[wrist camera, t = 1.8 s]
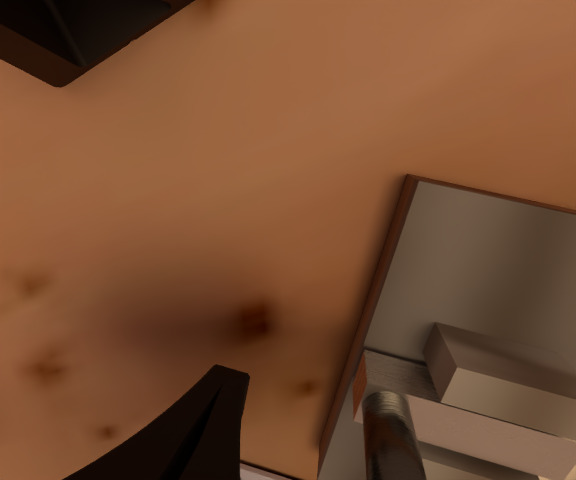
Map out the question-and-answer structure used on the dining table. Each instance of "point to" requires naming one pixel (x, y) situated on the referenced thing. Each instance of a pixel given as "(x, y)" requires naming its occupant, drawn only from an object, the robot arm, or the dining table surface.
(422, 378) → the bolt
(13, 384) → the dining table surface
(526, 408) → the door and jamb
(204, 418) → the robot arm
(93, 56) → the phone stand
